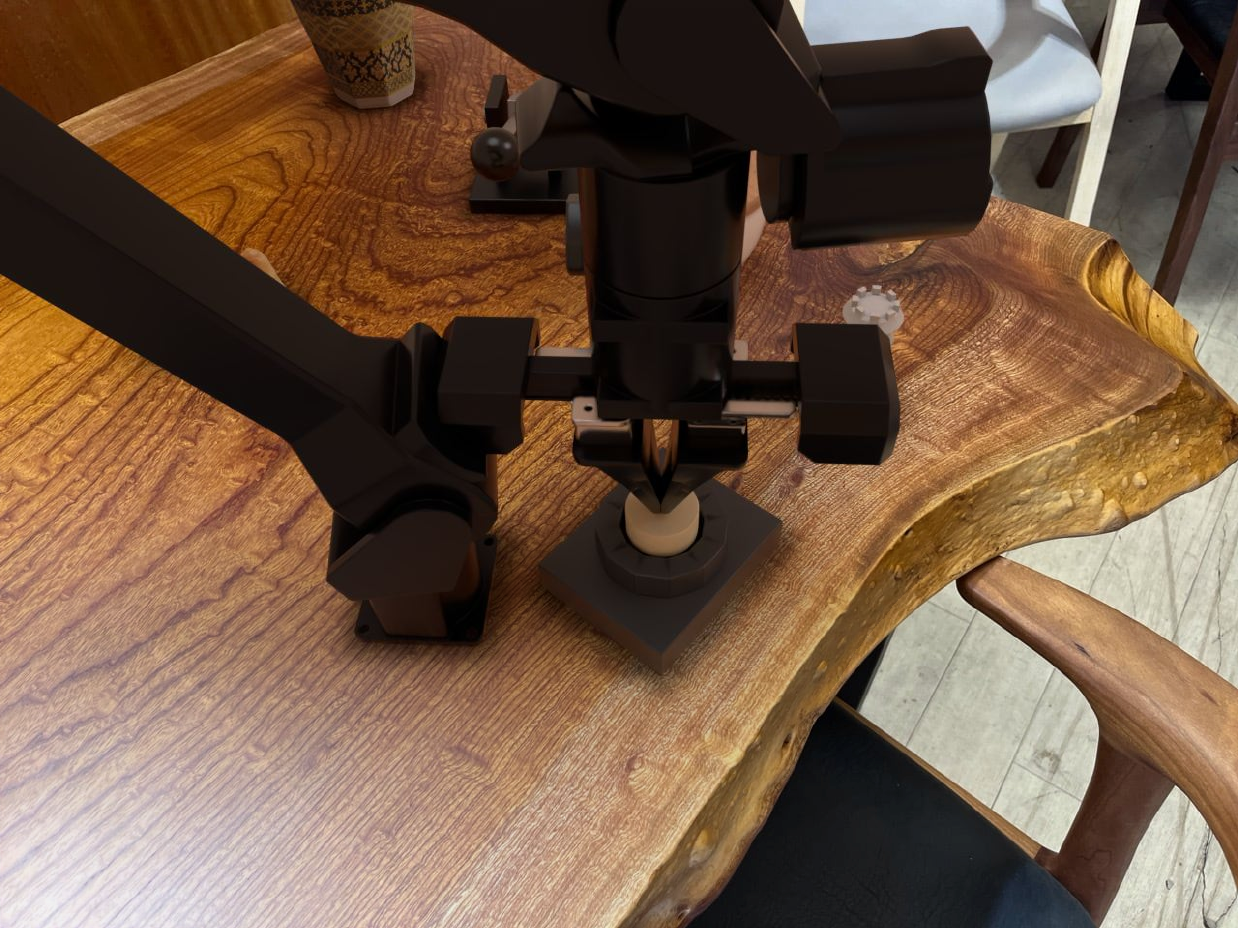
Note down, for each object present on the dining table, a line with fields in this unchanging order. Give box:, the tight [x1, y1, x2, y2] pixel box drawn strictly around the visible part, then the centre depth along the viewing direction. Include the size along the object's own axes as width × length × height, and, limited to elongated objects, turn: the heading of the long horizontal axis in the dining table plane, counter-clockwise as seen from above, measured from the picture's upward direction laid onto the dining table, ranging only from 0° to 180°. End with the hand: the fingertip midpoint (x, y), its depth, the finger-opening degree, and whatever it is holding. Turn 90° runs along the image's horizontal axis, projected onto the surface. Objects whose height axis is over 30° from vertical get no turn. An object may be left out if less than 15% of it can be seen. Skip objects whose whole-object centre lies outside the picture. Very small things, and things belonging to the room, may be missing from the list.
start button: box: [625, 491, 699, 557], centre depth 47 cm, size 4×4×2 cm
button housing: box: [537, 446, 784, 676], centre depth 49 cm, size 10×8×4 cm
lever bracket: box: [468, 74, 579, 215], centre depth 71 cm, size 10×8×7 cm
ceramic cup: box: [289, 0, 416, 110], centre depth 79 cm, size 13×10×10 cm
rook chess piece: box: [842, 284, 905, 347], centre depth 54 cm, size 4×4×8 cm
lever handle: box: [469, 92, 523, 182], centre depth 64 cm, size 15×3×3 cm, turn 176°
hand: (661, 505), depth 47 cm, fingers closed
